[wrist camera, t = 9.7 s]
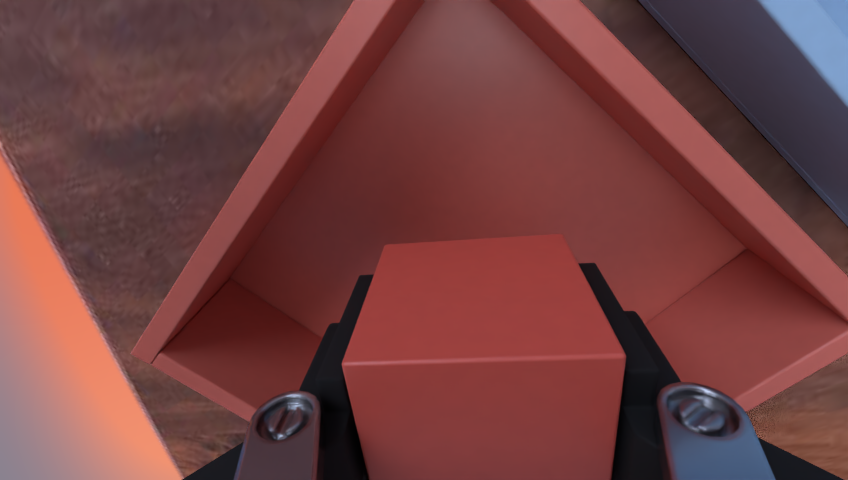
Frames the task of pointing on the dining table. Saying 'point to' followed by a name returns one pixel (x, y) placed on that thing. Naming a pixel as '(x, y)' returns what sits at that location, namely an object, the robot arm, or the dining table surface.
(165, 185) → the dining table surface
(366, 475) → the robot arm
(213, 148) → the dining table surface
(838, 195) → the blue bin
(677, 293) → the red bin
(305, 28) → the dining table surface
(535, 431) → the red block
